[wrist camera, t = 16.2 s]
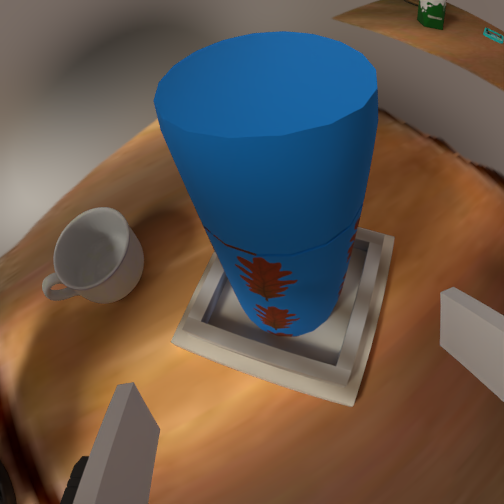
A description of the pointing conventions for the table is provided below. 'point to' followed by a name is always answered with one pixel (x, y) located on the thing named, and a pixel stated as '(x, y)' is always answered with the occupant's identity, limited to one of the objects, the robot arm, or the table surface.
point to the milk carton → (431, 13)
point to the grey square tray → (301, 347)
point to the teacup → (96, 258)
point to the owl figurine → (413, 2)
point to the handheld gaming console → (493, 35)
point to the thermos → (275, 165)
